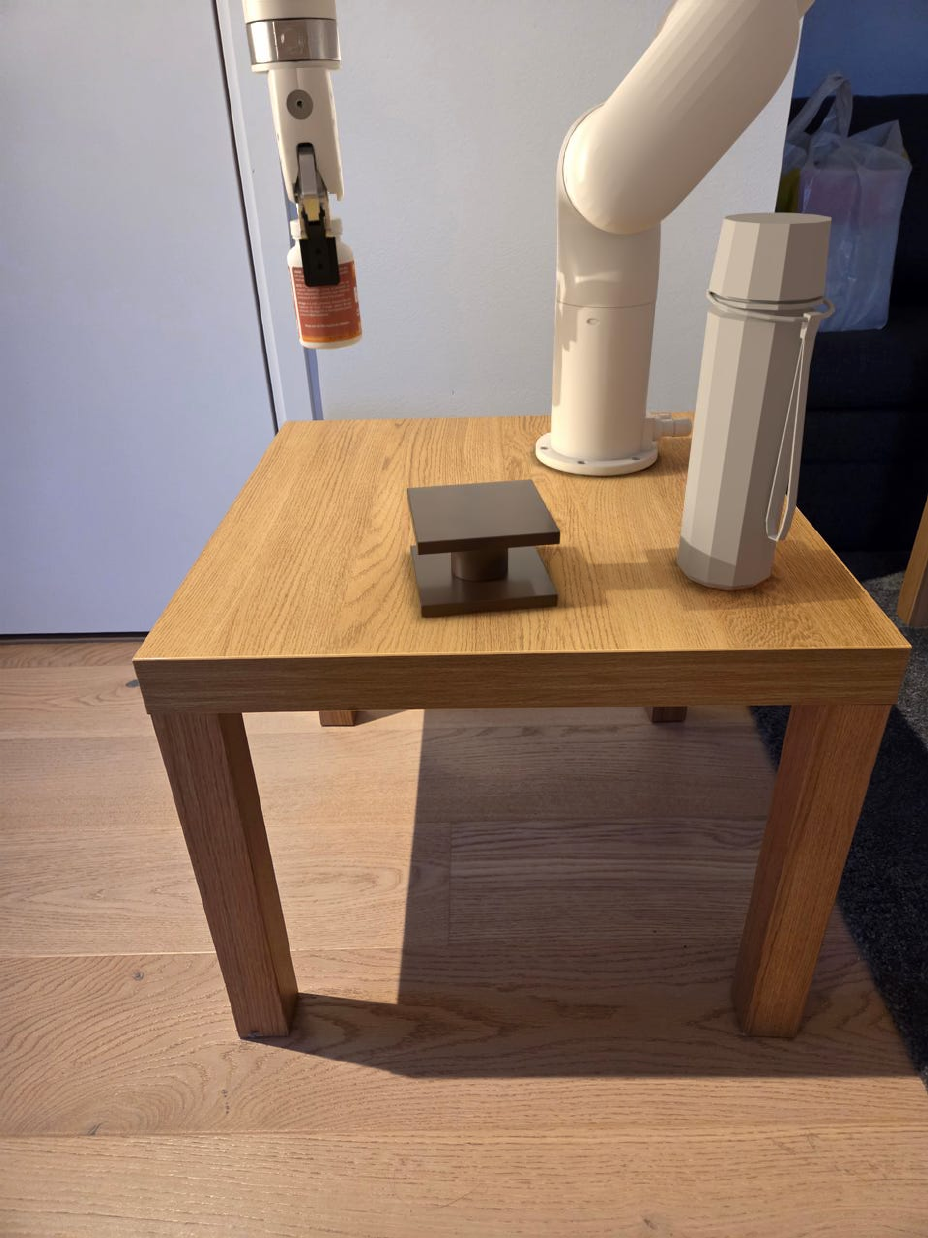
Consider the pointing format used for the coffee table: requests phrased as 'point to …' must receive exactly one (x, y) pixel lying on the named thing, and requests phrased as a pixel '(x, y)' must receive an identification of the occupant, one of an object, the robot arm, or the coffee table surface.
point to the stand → (480, 547)
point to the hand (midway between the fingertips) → (323, 277)
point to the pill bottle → (325, 298)
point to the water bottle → (752, 395)
